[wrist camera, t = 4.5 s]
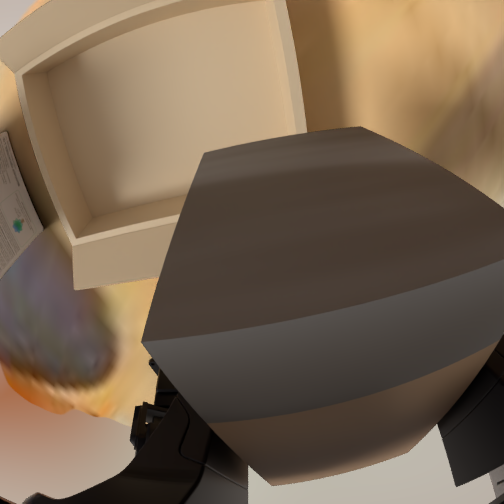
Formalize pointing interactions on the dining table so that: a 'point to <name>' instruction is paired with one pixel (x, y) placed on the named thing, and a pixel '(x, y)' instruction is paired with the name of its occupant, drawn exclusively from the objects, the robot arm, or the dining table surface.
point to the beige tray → (145, 112)
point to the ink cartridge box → (14, 210)
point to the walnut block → (327, 299)
